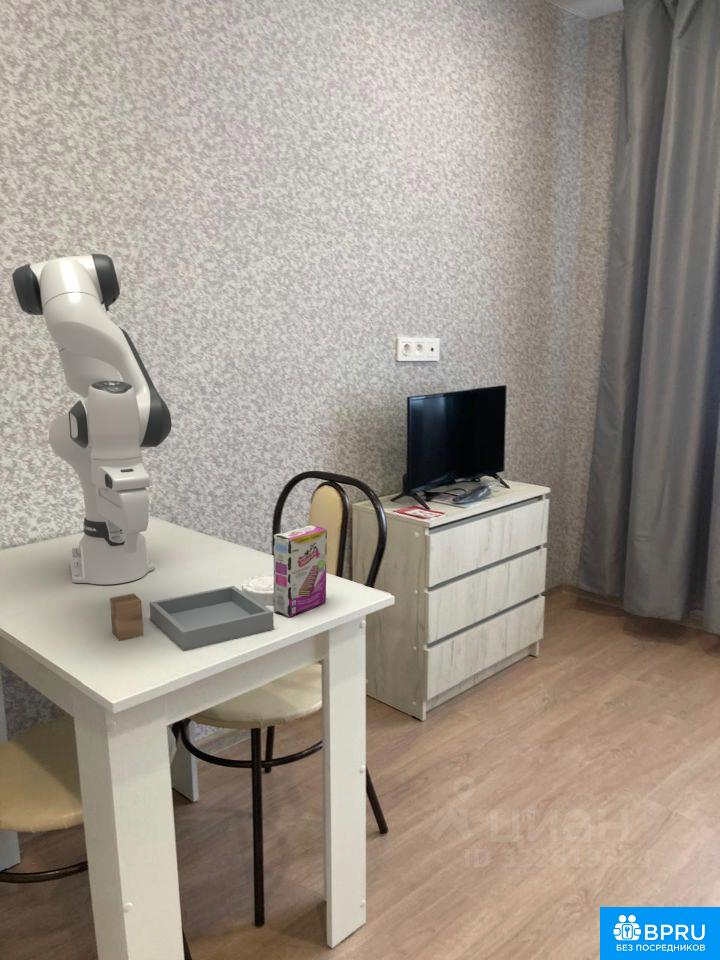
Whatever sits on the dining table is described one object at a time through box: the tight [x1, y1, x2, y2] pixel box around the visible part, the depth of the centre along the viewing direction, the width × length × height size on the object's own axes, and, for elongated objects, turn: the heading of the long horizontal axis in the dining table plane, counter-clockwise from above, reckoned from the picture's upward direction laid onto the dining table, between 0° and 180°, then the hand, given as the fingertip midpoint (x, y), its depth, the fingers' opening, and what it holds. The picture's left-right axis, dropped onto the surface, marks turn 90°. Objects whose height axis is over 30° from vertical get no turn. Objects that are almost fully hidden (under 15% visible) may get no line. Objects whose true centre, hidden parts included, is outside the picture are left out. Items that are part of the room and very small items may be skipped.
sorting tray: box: [149, 585, 275, 652], centre depth 144 cm, size 18×18×4 cm
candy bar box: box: [273, 525, 328, 618], centre depth 152 cm, size 11×5×16 cm, turn 141°
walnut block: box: [109, 593, 144, 642], centre depth 139 cm, size 4×4×7 cm
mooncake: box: [241, 573, 274, 607], centre depth 160 cm, size 12×12×4 cm
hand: (122, 546), depth 136 cm, fingers open, 8 cm apart
